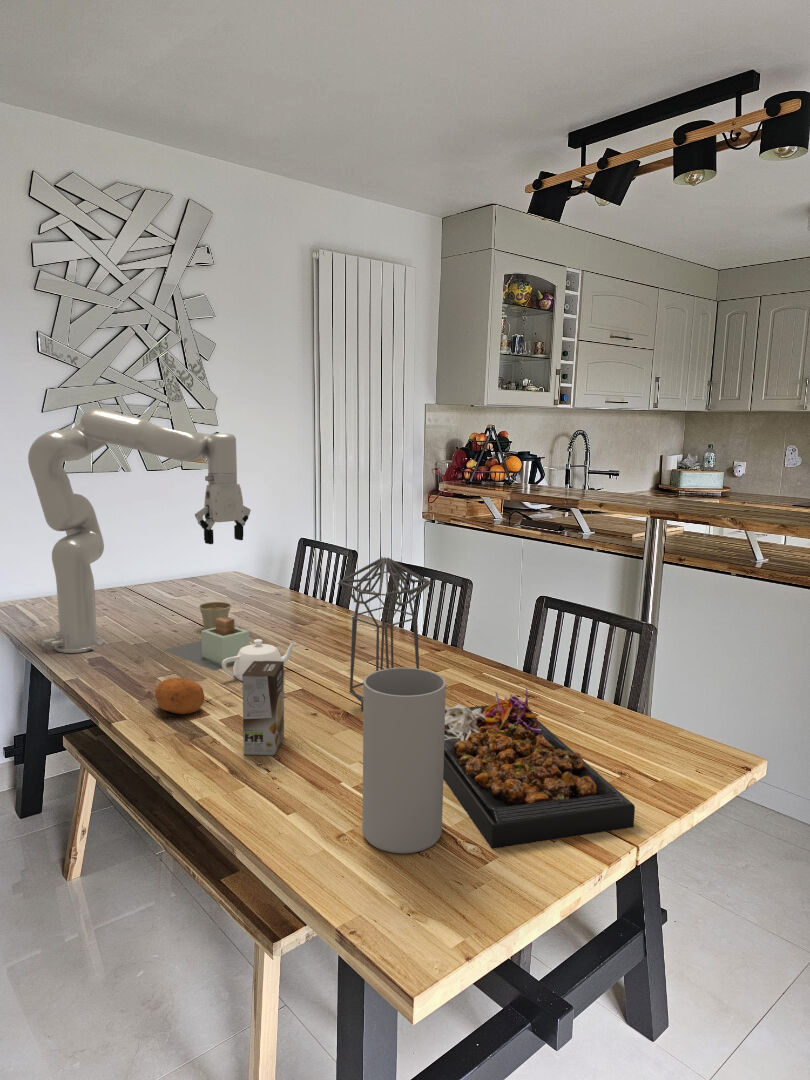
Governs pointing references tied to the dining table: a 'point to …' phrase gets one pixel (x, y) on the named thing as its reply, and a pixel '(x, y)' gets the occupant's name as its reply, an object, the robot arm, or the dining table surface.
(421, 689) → the cylinder vase
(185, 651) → the slate board
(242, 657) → the teapot
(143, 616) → the dining table surface
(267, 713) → the coffee box
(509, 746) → the food platter
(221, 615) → the flower pot
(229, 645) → the square sage planter
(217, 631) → the brown wooden block
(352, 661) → the geometric lantern
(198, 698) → the potato
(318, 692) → the dining table surface
